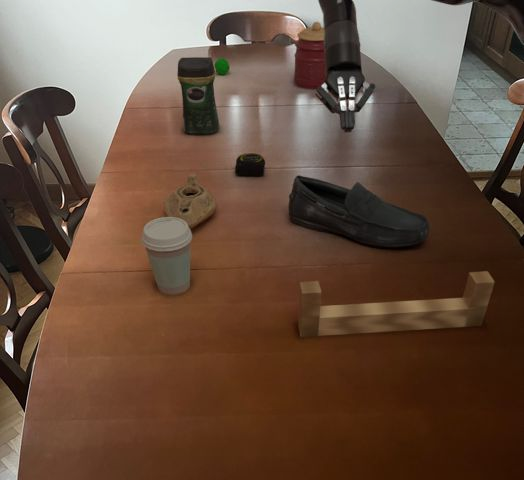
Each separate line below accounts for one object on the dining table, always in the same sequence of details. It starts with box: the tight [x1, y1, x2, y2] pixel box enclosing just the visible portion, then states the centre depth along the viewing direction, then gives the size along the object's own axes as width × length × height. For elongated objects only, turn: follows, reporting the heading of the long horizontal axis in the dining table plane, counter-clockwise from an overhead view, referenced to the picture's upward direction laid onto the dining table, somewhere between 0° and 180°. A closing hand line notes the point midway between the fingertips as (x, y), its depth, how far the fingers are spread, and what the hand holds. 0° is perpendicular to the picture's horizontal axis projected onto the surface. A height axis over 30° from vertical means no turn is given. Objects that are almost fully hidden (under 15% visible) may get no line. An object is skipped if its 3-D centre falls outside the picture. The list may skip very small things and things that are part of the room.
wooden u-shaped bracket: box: [297, 270, 495, 338], centre depth 95 cm, size 30×3×9 cm, turn 94°
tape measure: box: [234, 152, 266, 177], centre depth 140 cm, size 7×7×4 cm
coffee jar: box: [177, 56, 220, 136], centre depth 155 cm, size 10×8×19 cm
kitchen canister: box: [293, 21, 326, 90], centre depth 183 cm, size 13×13×18 cm
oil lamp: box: [163, 173, 217, 230], centre depth 122 cm, size 11×15×8 cm
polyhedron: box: [213, 57, 230, 76], centre depth 195 cm, size 5×5×5 cm
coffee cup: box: [141, 216, 193, 296], centre depth 103 cm, size 8×9×12 cm
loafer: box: [288, 174, 430, 249], centre depth 116 cm, size 10×29×10 cm, turn 67°
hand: (348, 130), depth 124 cm, fingers closed
